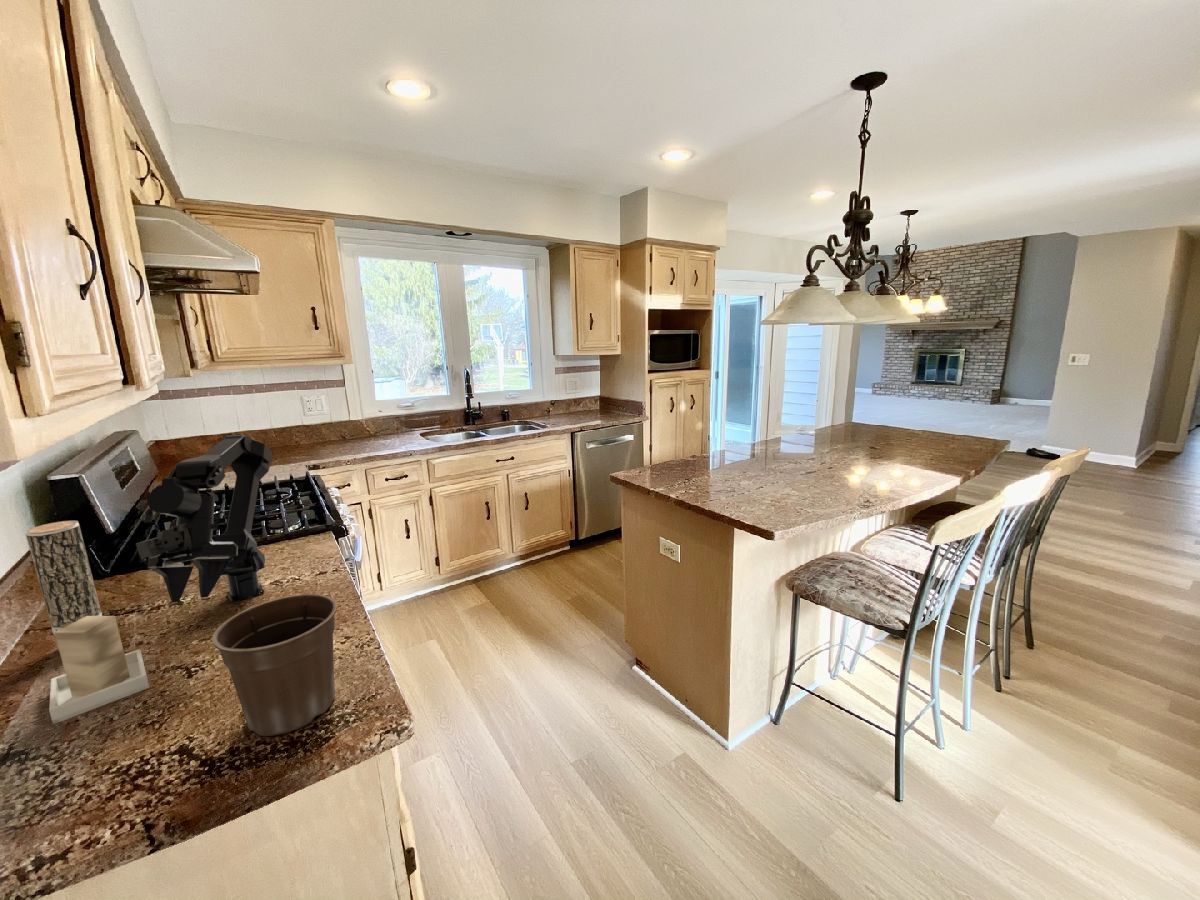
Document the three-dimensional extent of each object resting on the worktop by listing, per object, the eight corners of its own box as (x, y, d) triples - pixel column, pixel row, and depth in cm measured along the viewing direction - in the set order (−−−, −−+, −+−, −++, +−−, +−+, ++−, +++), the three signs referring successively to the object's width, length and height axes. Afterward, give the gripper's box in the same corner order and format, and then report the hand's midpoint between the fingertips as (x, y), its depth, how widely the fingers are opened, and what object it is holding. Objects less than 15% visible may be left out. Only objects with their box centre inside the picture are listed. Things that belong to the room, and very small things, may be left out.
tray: (54, 691, 83) (51, 678, 82) (142, 660, 91) (140, 648, 91) (53, 724, 76) (49, 710, 75) (149, 687, 84) (146, 675, 83)
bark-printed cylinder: (58, 645, 96) (26, 527, 91) (106, 630, 101) (78, 518, 96) (57, 659, 92) (23, 536, 87) (108, 643, 97) (78, 526, 92)
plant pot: (239, 695, 81) (222, 608, 78) (346, 664, 89) (335, 584, 86) (222, 765, 68) (200, 664, 64) (350, 721, 75) (337, 628, 72)
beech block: (102, 676, 86) (87, 615, 83) (129, 676, 86) (115, 615, 83) (71, 696, 81) (54, 632, 78) (100, 696, 81) (83, 632, 78)
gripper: (118, 526, 94) (108, 609, 90) (176, 510, 87) (168, 599, 83) (185, 527, 104) (179, 602, 100) (241, 513, 97) (237, 593, 93)
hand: (189, 600), depth 94 cm, fingers open, 9 cm apart
